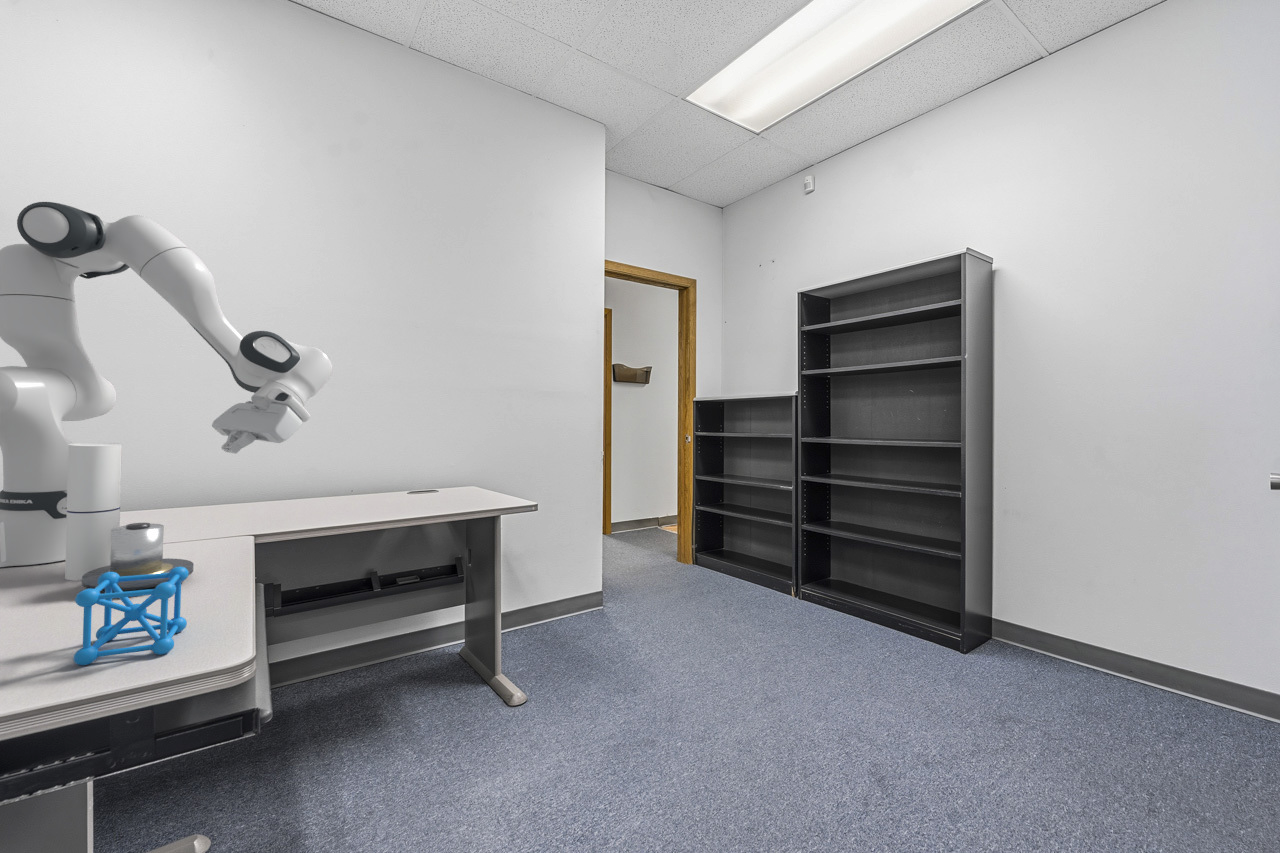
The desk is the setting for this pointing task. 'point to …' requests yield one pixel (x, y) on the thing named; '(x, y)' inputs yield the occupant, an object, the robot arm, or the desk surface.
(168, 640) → the molecular structure
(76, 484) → the cylindrical container
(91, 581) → the turntable platter
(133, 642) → the desk surface
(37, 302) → the robot arm
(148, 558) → the silver metal canister
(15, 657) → the desk surface
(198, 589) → the desk surface
